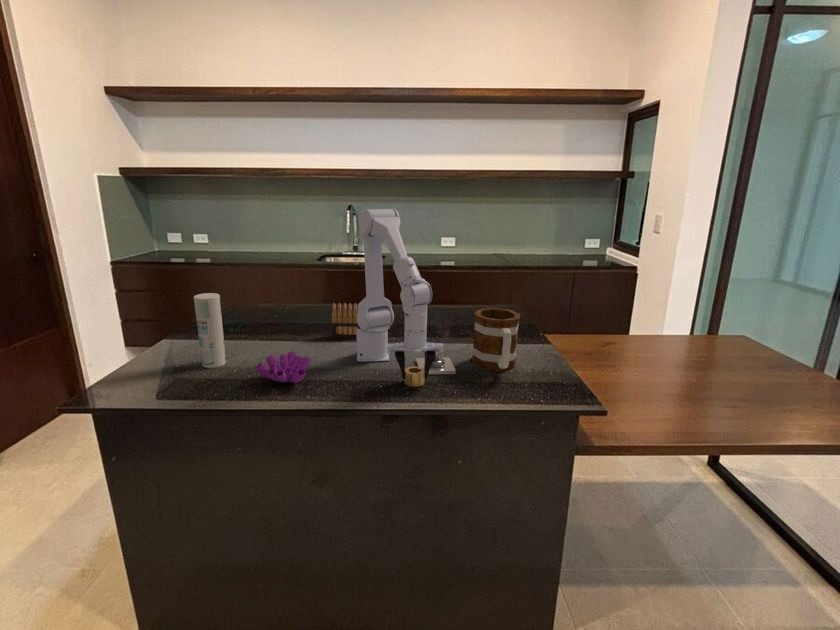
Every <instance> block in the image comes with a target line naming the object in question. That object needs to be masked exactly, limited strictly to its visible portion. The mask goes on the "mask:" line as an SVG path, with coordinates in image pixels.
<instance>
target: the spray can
mask: <svg viewBox="0 0 840 630" xmlns="http://www.w3.org/2000/svg"><path fill="white" fill-rule="evenodd" d="M193 302H194V310H195V318H196V326H197V333H198V335H197V337H198V343H199V348H200V349H199V352H200V357H201V365H202V367H204V368H208V369H214V368H219V367H222V366H224V365H225V364H226V361H227V359H226V350H225V349H226V348H225V340H224V339H225V337H224V328H223V316H222V308H221V307H222V306H221V296H220V294H219V293H215V292H207V293H206V292H204V293H199V294H196V295H193Z"/></svg>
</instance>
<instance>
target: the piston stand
mask: <svg viewBox="0 0 840 630" xmlns="http://www.w3.org/2000/svg"><path fill="white" fill-rule="evenodd" d="M435 354H436V358H435V360H434V362H433V363H432V365H431V367H430V370H429V373H428V376H429V375H456V374H457V372H456V368H455V366H454V364H453V362H452V359H451V357H445V356H444V357H440V353H439V352H436V353H435ZM415 361H416V366H417V367H421V368H424V365H425V357H416V360H415Z"/></svg>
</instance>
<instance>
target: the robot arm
mask: <svg viewBox="0 0 840 630" xmlns="http://www.w3.org/2000/svg"><path fill="white" fill-rule="evenodd" d="M400 229H401V219H400V214H399V212H398V210H397V209H396V208H381V209H380V208H379V209H378V208H377V209H375V208H370V209H368V208H364V209H362V211H361V213H360V215H359V216H358V231H359V238H360V239H361V240H363V252H364V253H363V256H364V273H365V277H364V278H365V294H366V296H365V297H364V298H363V299H362V300H361V301H359V303H358V304H357V323H358V325H359V327H360V328H361V329H357V338H356V347H355V354H356V361H357V362H360V363H361V362H389V361H390V355H391V354H393V353H394V356H395V359H396V362H397V364H398V366H399V368H400V373H401V378H402V380H404V379H405V369H406V367H405V366H406V365H405V364H406V355H405V353H413V354H419V353H420V354H421V353H424V358H425V365H424V370H425V380H427V379H428V377H429V375H428V373H429V370H430V367H431V365H432V363H433V362H434V360H435V358H436V354H435V353H436V352H439V354H441V353H442V354H443V353H444V344H443V343H441V342H440V343H439V342H429V341H427V331H428V330H427V329H428V328H427V327H428V305H429V304H430V303H431V302H432V300H433V290H432V285H431V284H430V283H429V282H428V281H426V279H424V278H422V276H421V274H420V271H419V269H418V267H417V264H416V261H415V260H414V258H412V257H410V256H409V255H408V254H407V251H406V247H405V244H404V242H403V238H402V236H401V232H400ZM383 241H384V243H385V245H386V247H387V249H388V251H389V254H391V256H392V259H393V260H394V264H393V266H392V269H393V271H394V273H395V275H396V279H397V281H398V283H399V285H400V289H401V291H400V293H399V297H400V300H401V304H402V310H403V312H404V333H403V334H404V338H403V339H404V341H403V342H397V343H396V342H395V343H388V341H389V340H388V339H389V338H388V335H389V333H388V330H390V329H391V326H392V325H393V323H394V320H395V315H394V314H395V313H394V311H393V308H392V307H393V306H392V302H391V301H390V299H388V298H386V297H385V291H384V290H385V289H384V268H383V266H384V265H383V247H382V245H383V244H382V243H383Z"/></svg>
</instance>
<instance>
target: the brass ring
mask: <svg viewBox="0 0 840 630" xmlns="http://www.w3.org/2000/svg"><path fill="white" fill-rule="evenodd" d="M403 380H404V385H406V386H408V387H413V388H414V387H415V388H417V387H418V388H419V387H421V386H424V385H425V382H426V381H425V380H426V379H425V370H424V368H421V367H418V365H416V366H408V367H405V379H403Z"/></svg>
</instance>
